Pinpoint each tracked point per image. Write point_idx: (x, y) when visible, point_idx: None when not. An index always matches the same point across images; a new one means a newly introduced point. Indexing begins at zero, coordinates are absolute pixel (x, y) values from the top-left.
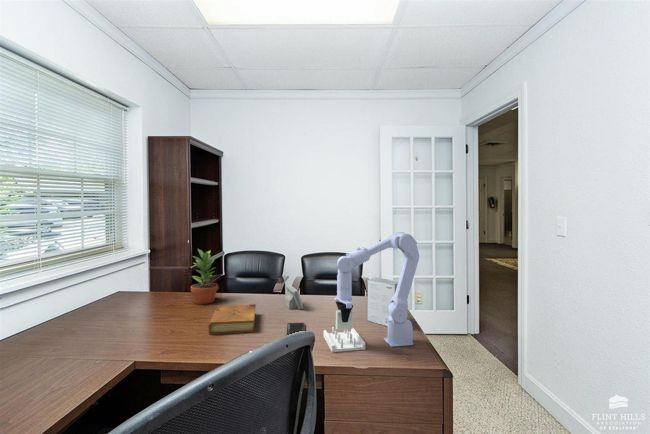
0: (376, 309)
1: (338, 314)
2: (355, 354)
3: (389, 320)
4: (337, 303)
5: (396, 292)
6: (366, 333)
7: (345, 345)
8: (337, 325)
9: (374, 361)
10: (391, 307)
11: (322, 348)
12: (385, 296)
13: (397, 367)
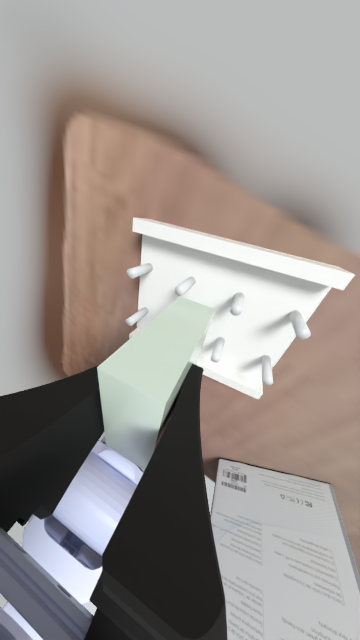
0: (291, 540)
1: (115, 359)
2: (120, 288)
3: (111, 451)
4: (105, 556)
5: (27, 628)
6: (234, 405)
7: (160, 290)
8: (167, 307)
9: (84, 305)
10: (82, 513)
11: (198, 188)
12: (244, 630)
13: (63, 325)
